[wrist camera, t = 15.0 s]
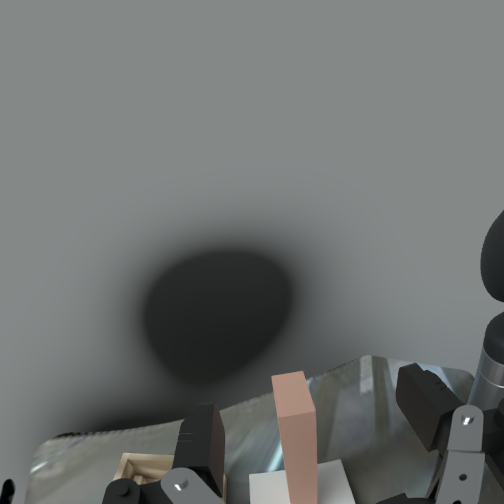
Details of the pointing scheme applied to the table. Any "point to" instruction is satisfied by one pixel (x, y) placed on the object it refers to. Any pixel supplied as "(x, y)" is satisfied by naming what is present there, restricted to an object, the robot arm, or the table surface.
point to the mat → (328, 486)
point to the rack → (149, 469)
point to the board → (297, 435)
